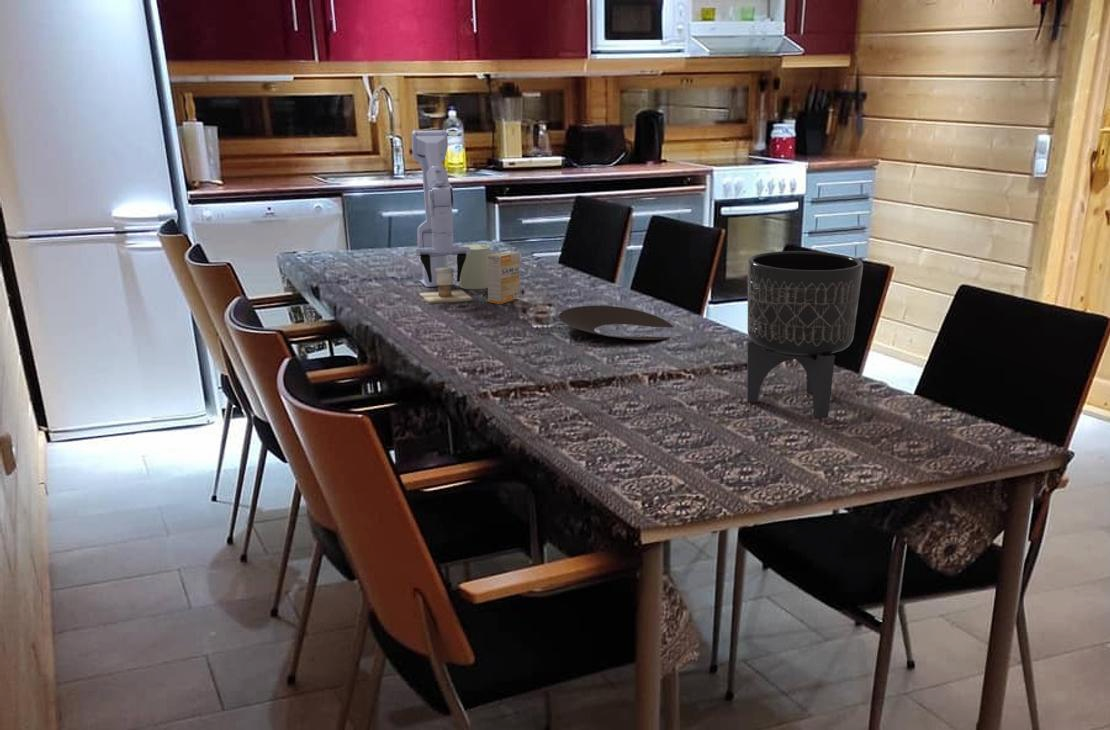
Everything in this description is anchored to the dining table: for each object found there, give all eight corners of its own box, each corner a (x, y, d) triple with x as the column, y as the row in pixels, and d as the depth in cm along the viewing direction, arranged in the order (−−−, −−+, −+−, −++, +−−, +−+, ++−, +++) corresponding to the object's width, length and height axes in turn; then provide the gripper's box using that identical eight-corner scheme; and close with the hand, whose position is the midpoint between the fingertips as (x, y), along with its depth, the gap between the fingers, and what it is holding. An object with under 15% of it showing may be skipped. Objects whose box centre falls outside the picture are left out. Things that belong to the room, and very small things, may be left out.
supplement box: (501, 305, 251) (500, 256, 247) (487, 302, 254) (486, 254, 250) (520, 299, 258) (519, 251, 254) (507, 297, 260) (506, 250, 257)
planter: (771, 380, 186) (779, 247, 178) (868, 400, 174) (881, 258, 166) (721, 406, 172) (727, 262, 164) (823, 429, 160) (835, 275, 152)
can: (490, 289, 270) (489, 247, 267) (458, 289, 271) (456, 247, 267) (492, 282, 279) (491, 242, 276) (461, 282, 280) (460, 242, 276)
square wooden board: (419, 295, 264) (418, 281, 263) (461, 291, 268) (460, 277, 266) (428, 304, 253) (427, 289, 252) (471, 300, 257) (471, 285, 256)
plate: (671, 349, 209) (671, 333, 208) (547, 343, 215) (547, 327, 213) (680, 319, 235) (681, 304, 234) (570, 314, 241) (570, 300, 240)
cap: (450, 285, 256) (449, 271, 255) (432, 284, 257) (432, 270, 256) (456, 282, 261) (455, 267, 260) (439, 281, 262) (438, 267, 261)
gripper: (414, 234, 251) (417, 284, 255) (469, 233, 252) (470, 283, 256) (416, 230, 257) (418, 279, 261) (469, 229, 259) (471, 278, 262)
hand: (444, 281), depth 259 cm, fingers open, 7 cm apart
